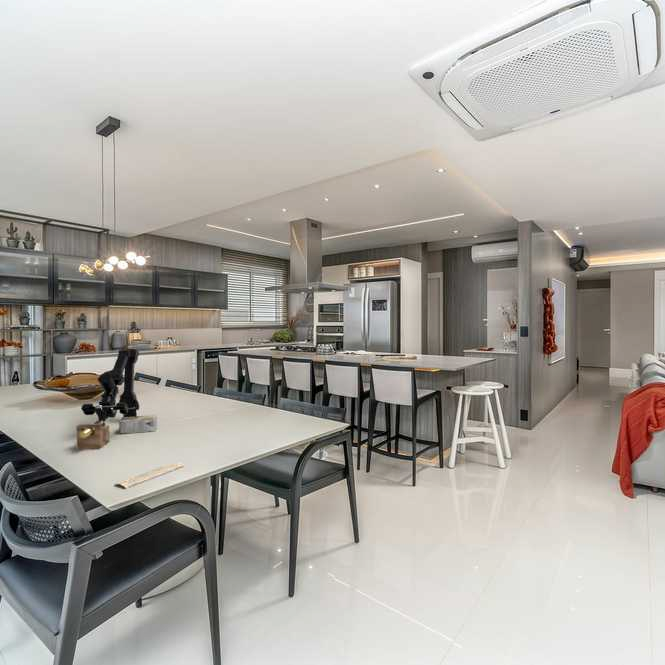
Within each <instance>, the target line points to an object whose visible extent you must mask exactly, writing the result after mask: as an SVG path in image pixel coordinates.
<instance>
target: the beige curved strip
mask: <svg viewBox="0 0 665 665" xmlns="http://www.w3.org/2000/svg"><path fill="white" fill-rule="evenodd" d="M184 467H186V465H185V464H184V463H183V462H180V461H175V462H172V463H170V464H166V465H164V466H162V467H161V466H160V467H159V468H156V469H152V470H150V471H147V472H145V473H142V474H140V475H137V476H134V477H131V478H129V479H126V480H123V481H120V482H118V483H115V484H114V487H117V486H123V487H124V488H125V490H128V489H131V488H133V487H135V486H138V485H141V484H144V483H146V482H148V481H151V480H153V479H156V478H159V477H161V476H164V475H166V474H168V473H172V472H174V471H177V470H180V469H182V468H184Z"/></svg>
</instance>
